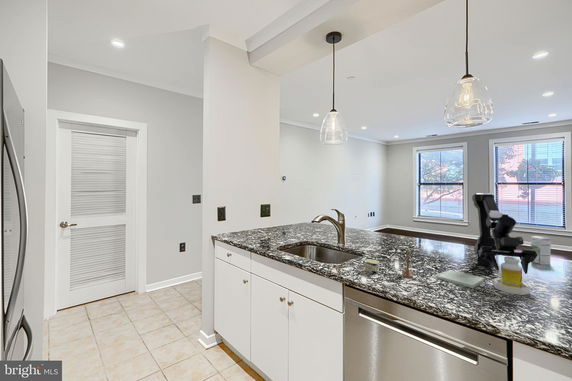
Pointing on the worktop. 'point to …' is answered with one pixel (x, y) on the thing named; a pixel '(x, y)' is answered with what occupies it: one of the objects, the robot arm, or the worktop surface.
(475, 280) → the sage board
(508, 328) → the worktop surface
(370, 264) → the stacked layers on plate
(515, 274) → the supplement bottle
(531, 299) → the worktop surface
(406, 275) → the gingerbread man figurine
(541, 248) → the syrup box
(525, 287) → the white flat octagonal ring
